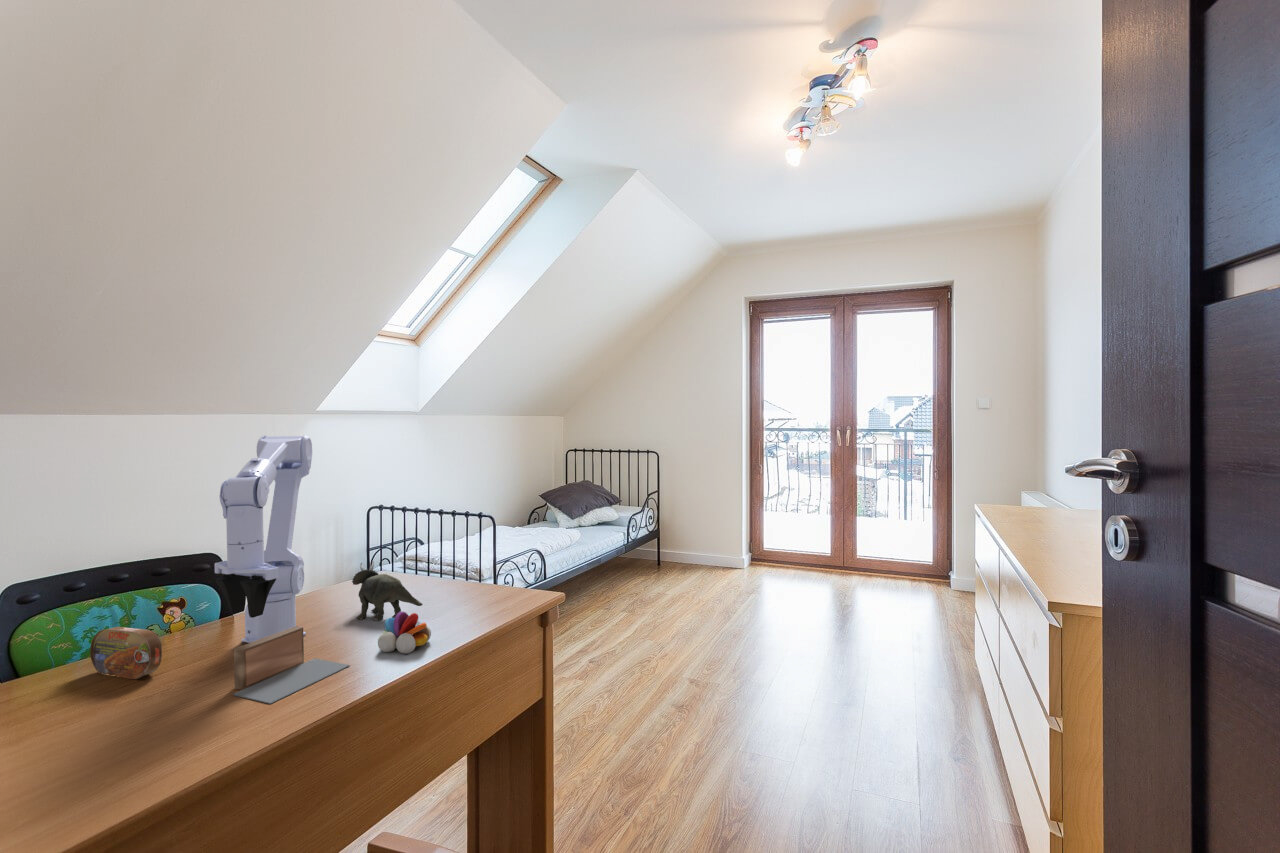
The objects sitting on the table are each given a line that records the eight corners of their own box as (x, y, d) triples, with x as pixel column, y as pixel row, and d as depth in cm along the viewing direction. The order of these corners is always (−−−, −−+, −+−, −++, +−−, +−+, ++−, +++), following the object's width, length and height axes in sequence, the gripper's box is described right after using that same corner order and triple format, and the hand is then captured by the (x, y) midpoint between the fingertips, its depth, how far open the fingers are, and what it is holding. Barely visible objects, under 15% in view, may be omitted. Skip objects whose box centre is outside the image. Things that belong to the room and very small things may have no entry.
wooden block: (234, 688, 105) (233, 648, 105) (296, 662, 116) (295, 626, 116) (243, 690, 104) (242, 650, 104) (304, 663, 115) (304, 627, 115)
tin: (88, 673, 112) (87, 627, 112) (107, 666, 115) (106, 622, 115) (148, 682, 108) (147, 635, 107) (166, 675, 111) (165, 629, 110)
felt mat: (232, 695, 102) (232, 694, 102) (314, 659, 117) (314, 658, 117) (270, 704, 99) (270, 702, 99) (349, 666, 114) (349, 664, 114)
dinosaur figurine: (427, 619, 140) (426, 571, 140) (395, 630, 133) (394, 579, 132) (369, 604, 152) (369, 559, 151) (337, 613, 144) (336, 567, 144)
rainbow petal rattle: (414, 657, 118) (414, 620, 118) (370, 654, 120) (369, 617, 120) (437, 641, 126) (437, 607, 126) (395, 638, 128) (395, 604, 128)
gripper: (197, 543, 111) (198, 616, 111) (251, 549, 106) (253, 626, 106) (235, 535, 117) (236, 605, 118) (288, 541, 112) (289, 613, 112)
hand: (247, 614), depth 112 cm, fingers open, 4 cm apart
